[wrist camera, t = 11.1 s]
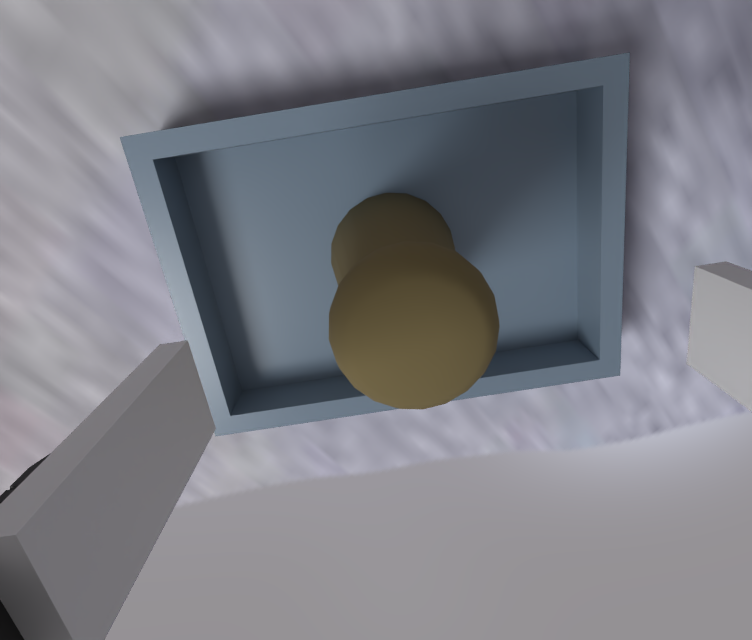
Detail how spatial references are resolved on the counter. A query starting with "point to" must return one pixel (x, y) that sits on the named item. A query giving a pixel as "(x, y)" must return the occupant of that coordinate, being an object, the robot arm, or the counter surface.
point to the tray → (394, 175)
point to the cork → (408, 305)
